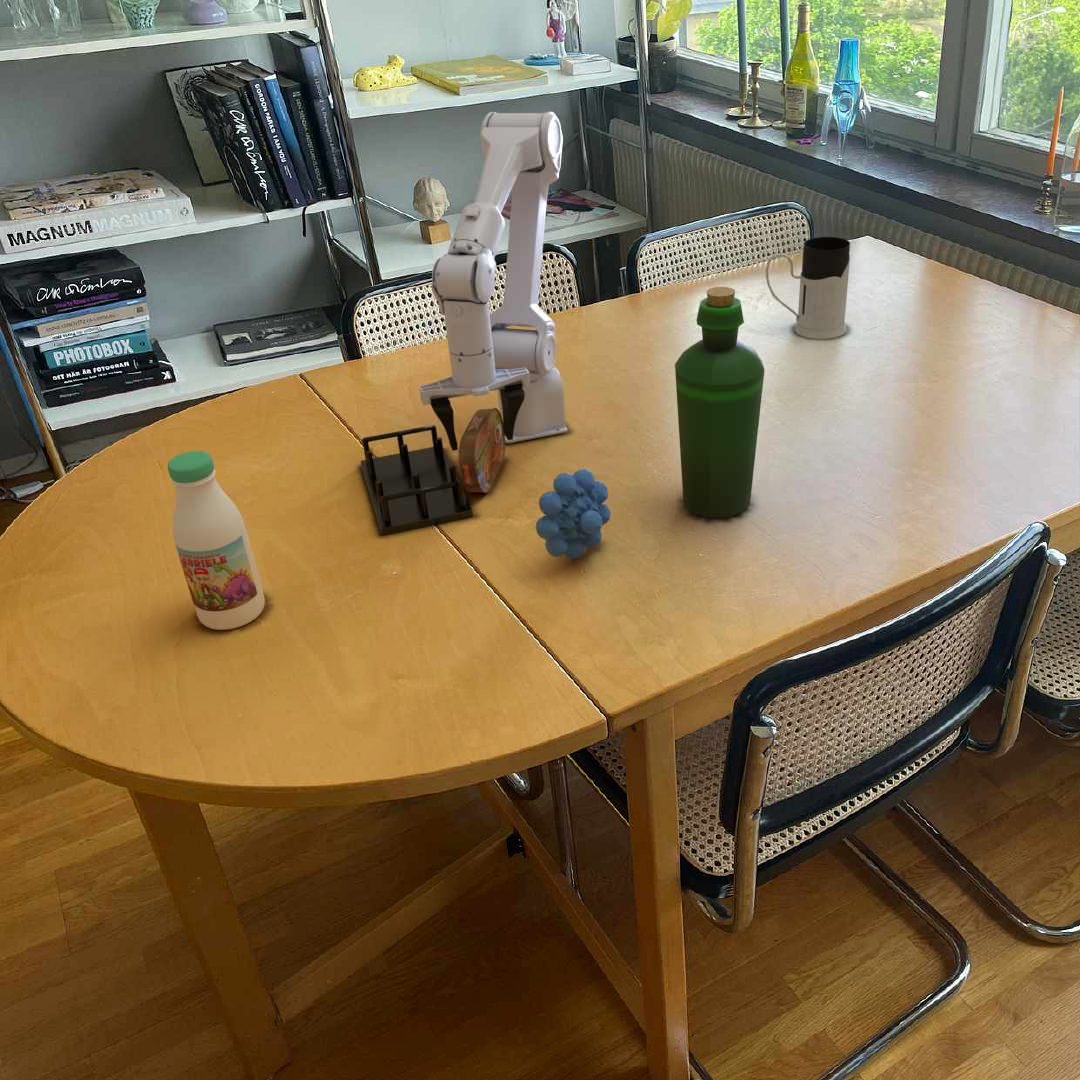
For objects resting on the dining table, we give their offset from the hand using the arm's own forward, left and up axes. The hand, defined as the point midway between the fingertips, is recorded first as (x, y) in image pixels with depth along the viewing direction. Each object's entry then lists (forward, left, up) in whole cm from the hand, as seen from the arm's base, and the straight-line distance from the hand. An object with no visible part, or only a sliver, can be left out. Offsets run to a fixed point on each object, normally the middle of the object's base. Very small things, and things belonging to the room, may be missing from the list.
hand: (481, 442), depth 140 cm
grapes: (-6, +25, -6) cm, 26 cm away
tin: (0, 0, -6) cm, 6 cm away
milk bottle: (+35, +20, -6) cm, 41 cm away
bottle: (-26, +19, -6) cm, 33 cm away
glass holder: (-64, -29, -6) cm, 71 cm away
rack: (+10, 0, -5) cm, 11 cm away
